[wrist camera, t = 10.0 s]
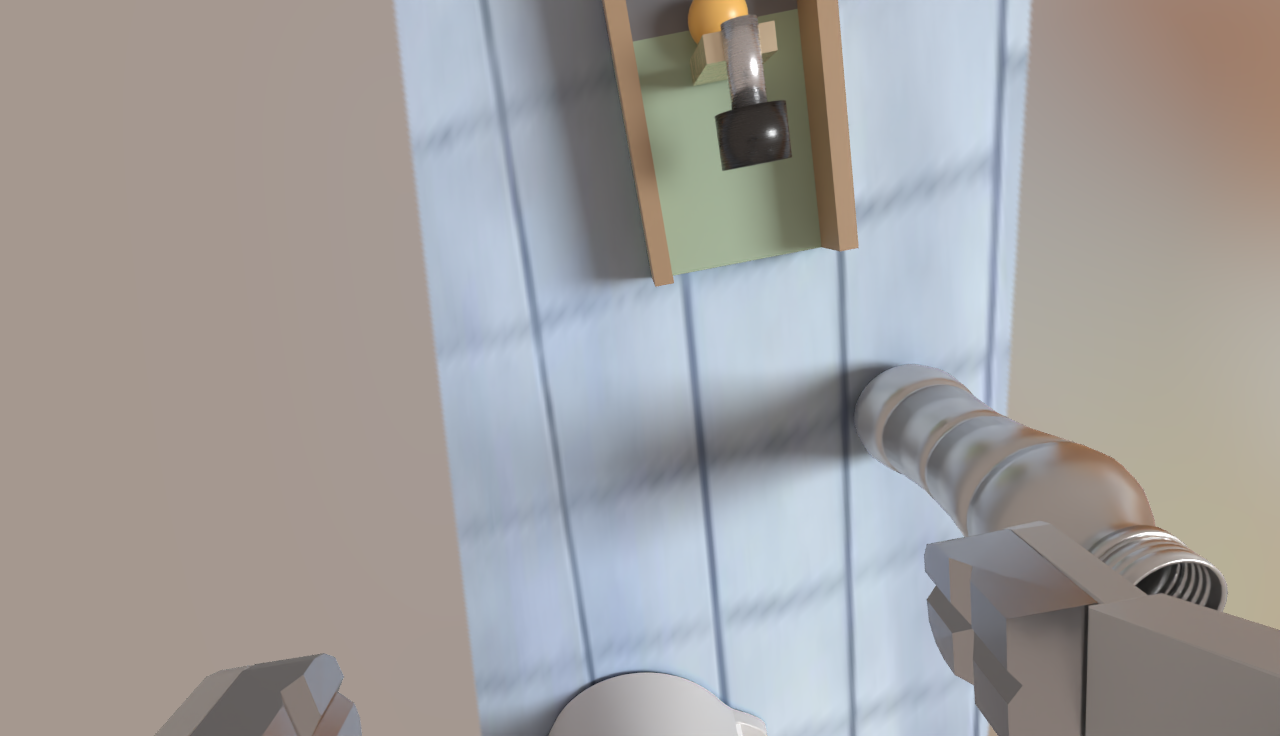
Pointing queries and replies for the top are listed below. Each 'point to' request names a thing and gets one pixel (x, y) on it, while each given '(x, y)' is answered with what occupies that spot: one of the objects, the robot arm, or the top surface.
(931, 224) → the top surface
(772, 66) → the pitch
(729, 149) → the glass stem black base
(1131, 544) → the plastic bottle
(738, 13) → the ball
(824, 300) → the top surface
